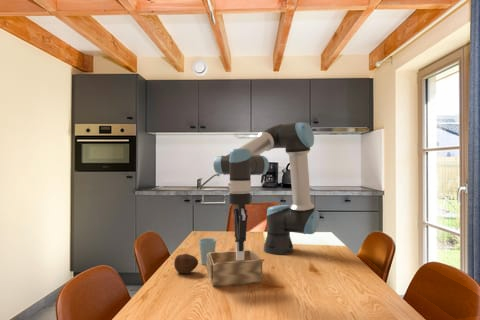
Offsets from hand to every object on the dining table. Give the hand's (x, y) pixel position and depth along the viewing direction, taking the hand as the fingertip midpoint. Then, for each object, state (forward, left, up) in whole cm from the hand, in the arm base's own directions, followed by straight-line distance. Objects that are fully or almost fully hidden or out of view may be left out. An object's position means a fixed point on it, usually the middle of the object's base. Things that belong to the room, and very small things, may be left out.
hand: (240, 259), depth 110 cm
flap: (0, -5, -3) cm, 5 cm away
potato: (+18, -22, -11) cm, 31 cm away
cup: (+8, -33, -11) cm, 36 cm away
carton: (0, -13, -11) cm, 17 cm away
